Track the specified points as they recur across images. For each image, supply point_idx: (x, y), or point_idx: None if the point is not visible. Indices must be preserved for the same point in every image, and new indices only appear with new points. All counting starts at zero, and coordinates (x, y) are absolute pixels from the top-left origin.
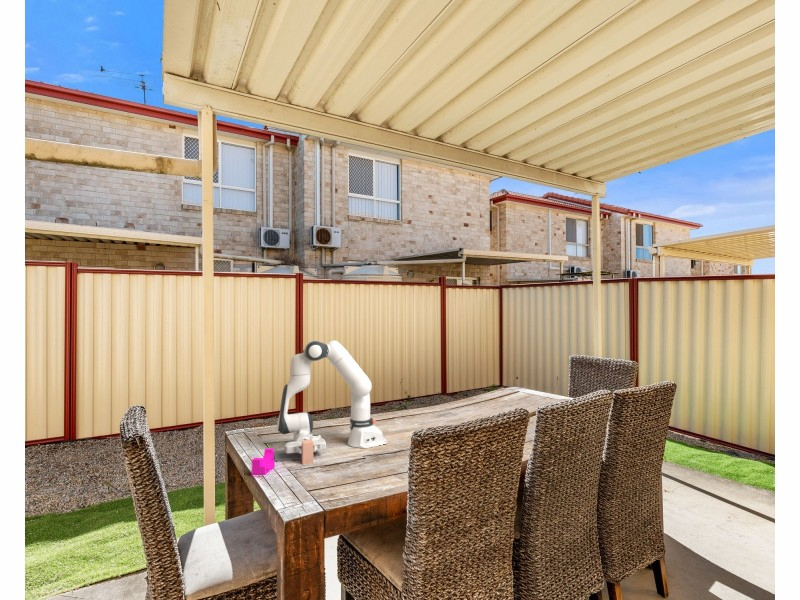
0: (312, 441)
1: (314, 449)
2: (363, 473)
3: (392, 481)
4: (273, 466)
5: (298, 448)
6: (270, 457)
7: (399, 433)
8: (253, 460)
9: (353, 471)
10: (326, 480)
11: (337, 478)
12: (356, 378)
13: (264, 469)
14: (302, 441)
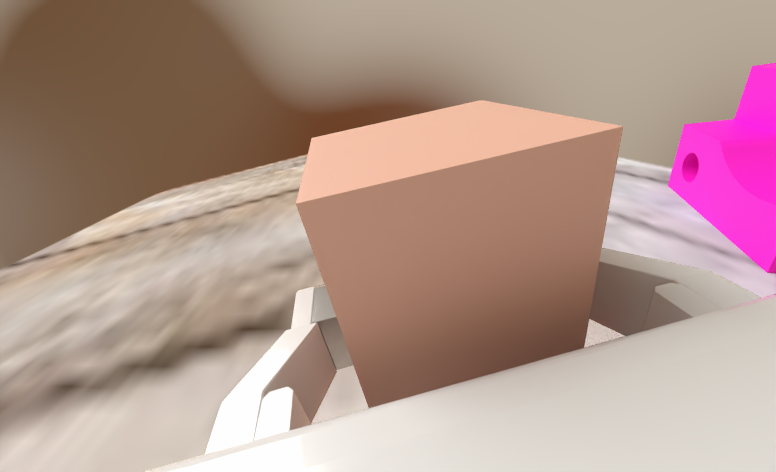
0: (315, 153)
1: (321, 287)
2: (143, 252)
3: (115, 222)
4: (760, 241)
5: (638, 263)
6: None
7: None
8: None
9: (166, 263)
10: None
11: (276, 215)
12: None
13: (685, 140)
14: (557, 117)
